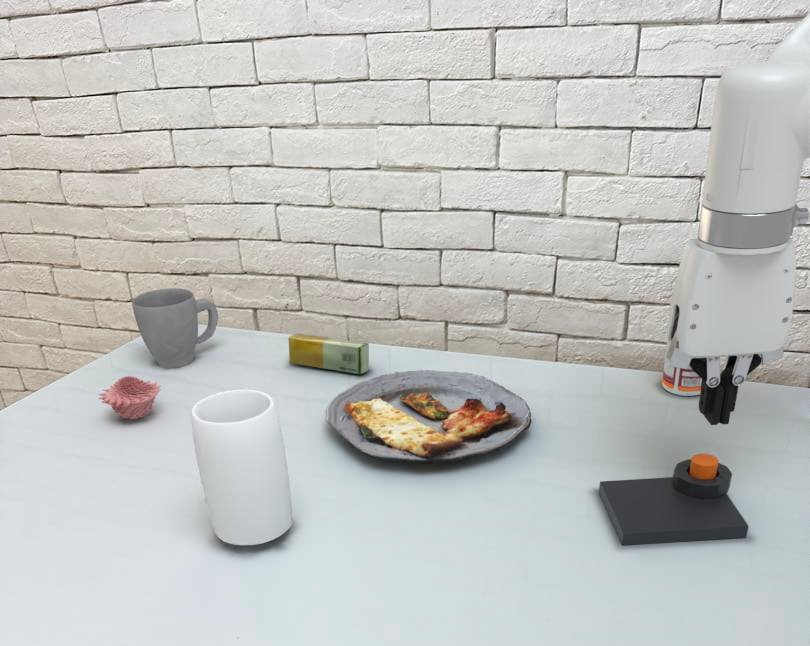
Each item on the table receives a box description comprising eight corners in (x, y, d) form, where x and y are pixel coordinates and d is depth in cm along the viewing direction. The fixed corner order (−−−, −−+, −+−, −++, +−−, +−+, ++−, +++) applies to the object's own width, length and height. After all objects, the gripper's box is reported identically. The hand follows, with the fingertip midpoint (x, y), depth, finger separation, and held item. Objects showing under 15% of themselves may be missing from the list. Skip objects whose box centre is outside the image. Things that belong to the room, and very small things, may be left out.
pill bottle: (719, 386, 111) (733, 300, 105) (694, 401, 108) (707, 314, 101) (677, 374, 115) (688, 290, 108) (651, 388, 111) (662, 303, 105)
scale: (716, 482, 91) (720, 457, 89) (754, 537, 82) (759, 511, 80) (597, 489, 91) (599, 464, 89) (621, 545, 82) (624, 519, 80)
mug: (157, 377, 123) (142, 312, 117) (138, 359, 129) (123, 296, 124) (234, 357, 128) (223, 294, 123) (212, 341, 134) (201, 279, 129)
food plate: (568, 438, 101) (569, 411, 99) (398, 497, 91) (396, 469, 90) (452, 372, 119) (451, 348, 117) (300, 416, 110) (297, 390, 108)
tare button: (711, 467, 88) (713, 452, 87) (719, 480, 86) (722, 465, 85) (685, 469, 88) (688, 454, 87) (693, 481, 86) (696, 466, 85)
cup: (206, 523, 89) (180, 397, 81) (285, 504, 91) (266, 381, 84) (222, 566, 82) (194, 434, 75) (306, 545, 85) (288, 415, 77)
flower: (178, 415, 112) (170, 375, 109) (123, 436, 107) (113, 396, 104) (147, 399, 117) (138, 360, 113) (93, 419, 112) (82, 379, 109)
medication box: (370, 370, 121) (370, 342, 119) (361, 375, 119) (361, 347, 117) (297, 358, 126) (296, 331, 124) (288, 363, 124) (286, 336, 122)
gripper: (812, 209, 77) (775, 397, 87) (646, 221, 77) (629, 408, 87) (851, 231, 70) (806, 430, 81) (670, 244, 71) (649, 442, 81)
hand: (714, 418), depth 84 cm, fingers closed
